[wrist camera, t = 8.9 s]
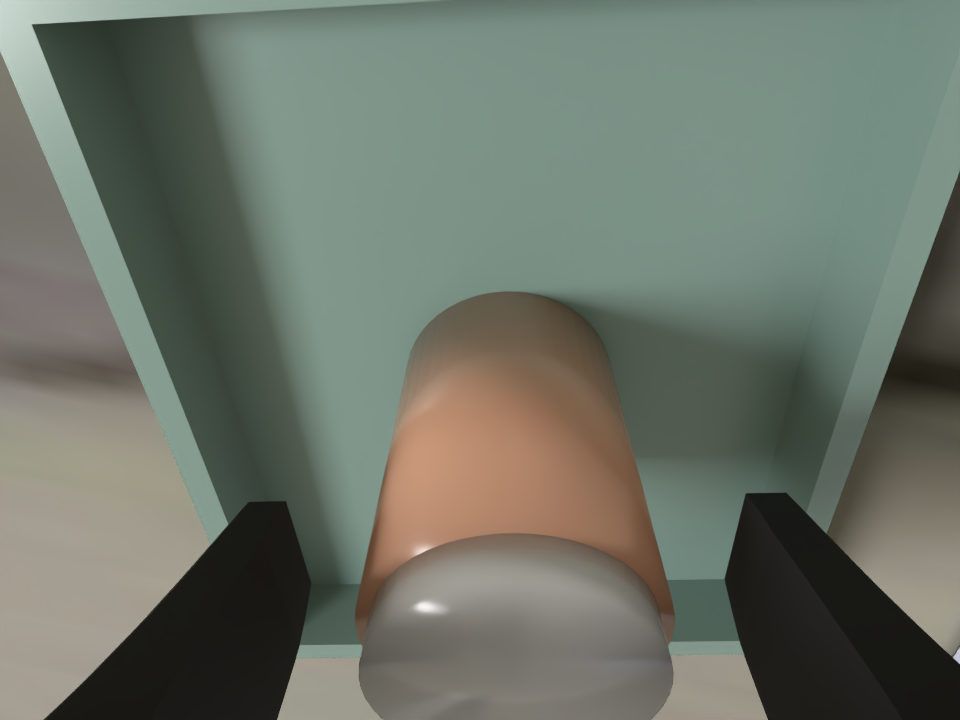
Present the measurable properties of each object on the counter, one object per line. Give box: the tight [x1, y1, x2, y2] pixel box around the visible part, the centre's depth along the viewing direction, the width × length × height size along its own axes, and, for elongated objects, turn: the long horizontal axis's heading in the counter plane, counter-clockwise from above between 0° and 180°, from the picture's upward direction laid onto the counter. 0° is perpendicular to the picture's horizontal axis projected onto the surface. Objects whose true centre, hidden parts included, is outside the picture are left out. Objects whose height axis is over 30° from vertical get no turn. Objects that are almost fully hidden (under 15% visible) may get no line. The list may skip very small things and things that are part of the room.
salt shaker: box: [355, 291, 675, 720], centre depth 11 cm, size 5×5×7 cm
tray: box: [0, 0, 960, 658], centre depth 14 cm, size 14×16×2 cm
